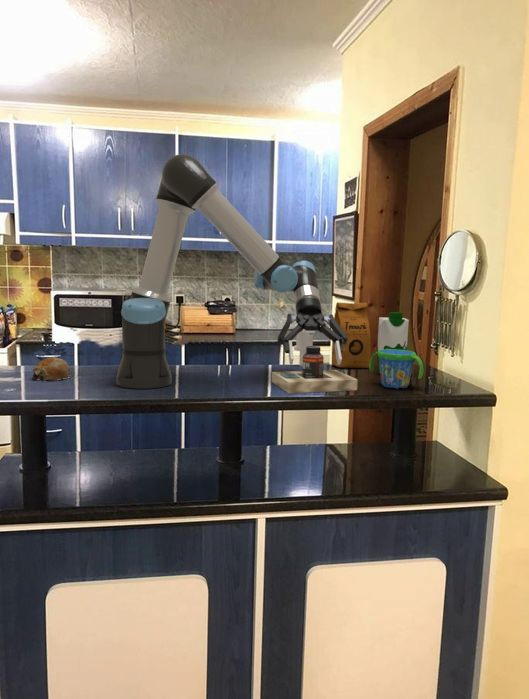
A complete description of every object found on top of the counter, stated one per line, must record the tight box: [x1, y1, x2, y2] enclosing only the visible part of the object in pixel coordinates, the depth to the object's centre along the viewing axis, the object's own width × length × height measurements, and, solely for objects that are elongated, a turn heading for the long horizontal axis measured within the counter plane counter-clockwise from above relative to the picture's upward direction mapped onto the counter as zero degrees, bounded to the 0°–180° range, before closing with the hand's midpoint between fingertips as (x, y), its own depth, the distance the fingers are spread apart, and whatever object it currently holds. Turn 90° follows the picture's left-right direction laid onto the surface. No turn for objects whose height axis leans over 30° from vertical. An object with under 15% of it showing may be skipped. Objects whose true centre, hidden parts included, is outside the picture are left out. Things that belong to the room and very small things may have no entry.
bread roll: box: [32, 356, 71, 381], centre depth 165 cm, size 10×10×8 cm
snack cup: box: [368, 349, 424, 390], centre depth 163 cm, size 16×10×10 cm
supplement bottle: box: [301, 345, 325, 379], centre depth 161 cm, size 6×6×11 cm
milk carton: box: [376, 311, 410, 374], centre depth 181 cm, size 9×9×20 cm
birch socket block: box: [271, 369, 358, 394], centre depth 162 cm, size 20×15×3 cm
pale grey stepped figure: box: [293, 323, 316, 367], centre depth 194 cm, size 7×7×15 cm
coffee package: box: [331, 302, 372, 369], centre depth 193 cm, size 10×12×22 cm
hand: (315, 362), depth 160 cm, fingers open, 13 cm apart
